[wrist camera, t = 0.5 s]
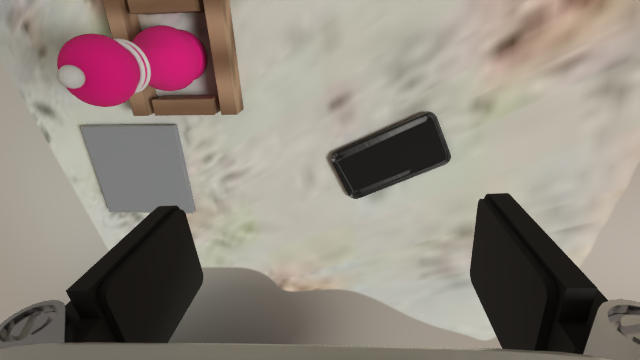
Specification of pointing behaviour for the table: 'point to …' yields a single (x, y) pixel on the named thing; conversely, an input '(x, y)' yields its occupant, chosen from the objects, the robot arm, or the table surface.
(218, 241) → the table surface
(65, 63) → the pepper mill
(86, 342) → the robot arm
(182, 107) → the collar
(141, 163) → the slate tile
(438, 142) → the phone
